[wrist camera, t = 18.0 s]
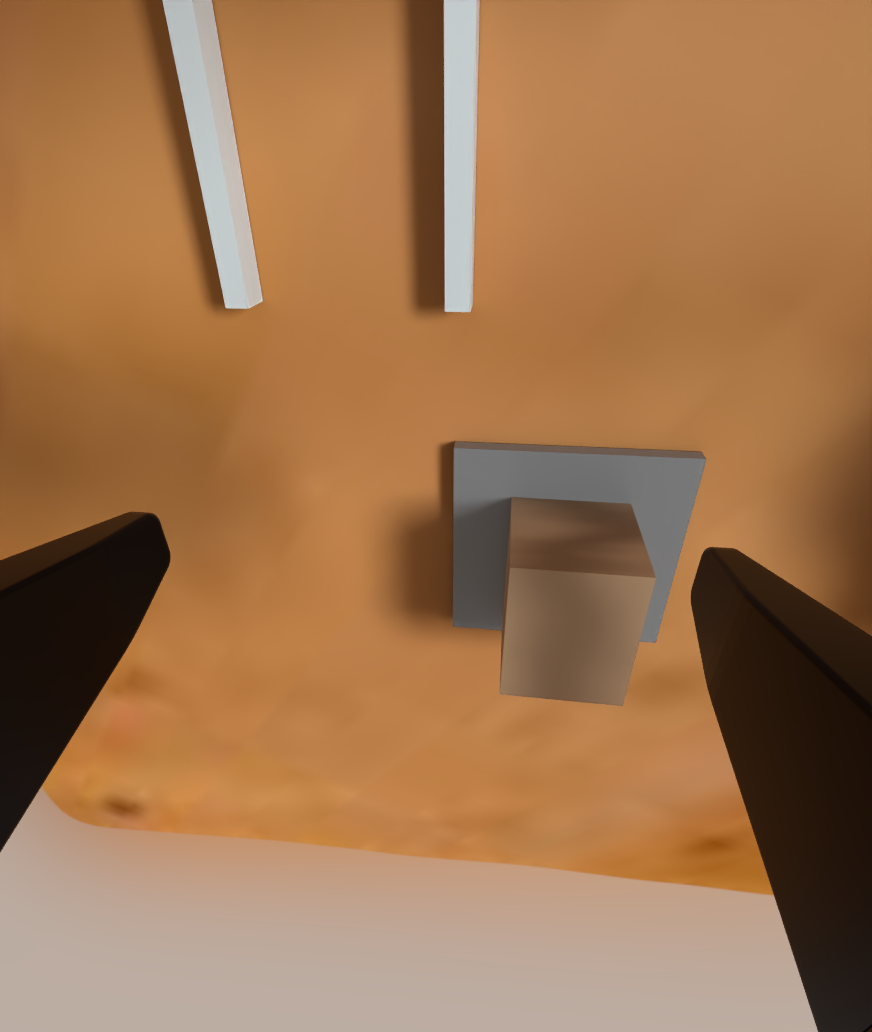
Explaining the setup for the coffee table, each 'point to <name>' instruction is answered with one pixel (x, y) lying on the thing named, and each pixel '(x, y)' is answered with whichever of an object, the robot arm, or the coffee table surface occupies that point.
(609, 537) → the walnut block
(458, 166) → the acrylic channel
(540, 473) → the slate coaster
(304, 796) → the coffee table surface
